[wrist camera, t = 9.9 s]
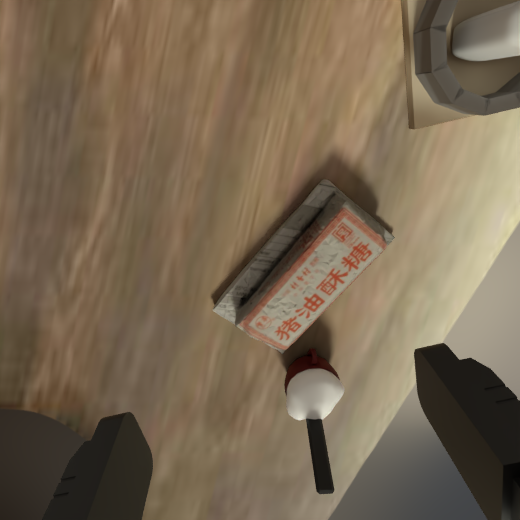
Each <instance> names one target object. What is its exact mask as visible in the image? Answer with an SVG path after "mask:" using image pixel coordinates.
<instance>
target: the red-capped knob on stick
mask: <svg viewBox="0 0 520 520" xmlns="http://www.w3.org/2000/svg"><path fill="white" fill-rule="evenodd" d="M344 391H345V389H344V387H343V384H342V382H341V381H340V379H339V377H338V374H337V372H336V371H335V370H334V368H333V367H332V366H331V365H330V364H329V363H328V362H327V361H326V360H325V359H324V358H321V357H318V356H317V353H316V350H315V348H310V349H309V351H308V353H307V356H303V357H301V358H298V359H296V360H295V361H294V362H293V363H292V364H291V365H290V366H289V368H288V371H287V374H286V378H285V392H286V396H287V400H286V407H287V410H288V414H289V415H291V416H292V417H293V418H295V419H297V420H302V419H306V422H307V429H308V436H309V443H310V449H311V456H312V463H313V470H314V477H315V483H316V490H317V492H318V493H319V494H331V493H333V492H334V486H333V480H332V475H331V469H330V463H329V458H328V452H327V446H326V441H325V435H324V429H323V424H322V420H323V419H324V418H325V417H326V416H327V415H328V414H329V413H330V412H331V411H332V410H333V408H334V406H335V405H336V404H337V402H338V401H339V400H340V398H341V397H342V395H343V393H344Z"/></svg>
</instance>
